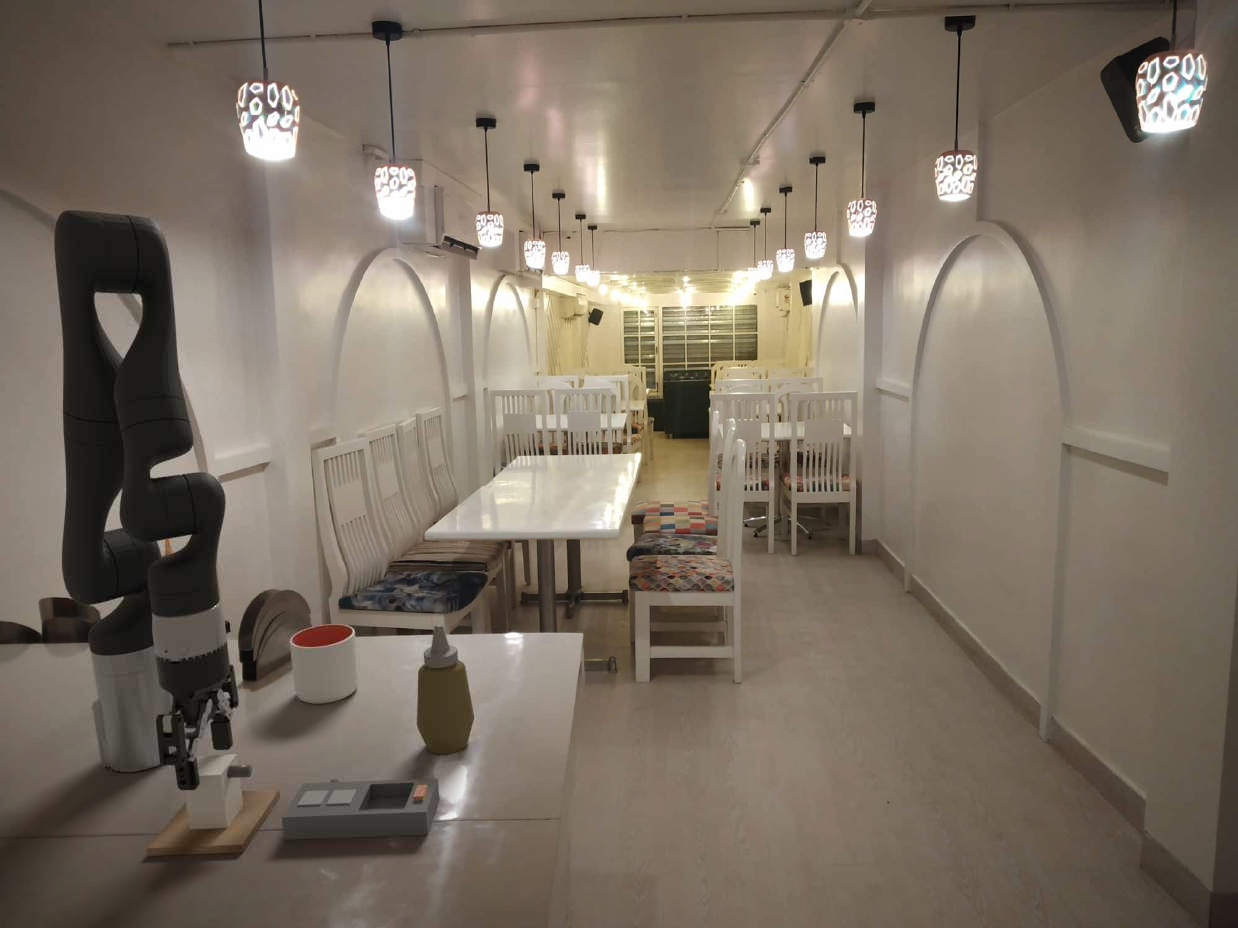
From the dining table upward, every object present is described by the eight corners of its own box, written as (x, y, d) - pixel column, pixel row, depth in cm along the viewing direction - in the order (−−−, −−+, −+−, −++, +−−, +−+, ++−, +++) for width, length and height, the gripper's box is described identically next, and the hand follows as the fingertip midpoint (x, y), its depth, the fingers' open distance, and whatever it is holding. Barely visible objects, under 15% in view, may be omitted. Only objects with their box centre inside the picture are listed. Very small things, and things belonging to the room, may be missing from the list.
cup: (299, 712, 128) (293, 652, 126) (292, 687, 137) (286, 631, 135) (365, 697, 133) (359, 639, 131) (354, 673, 141) (348, 619, 139)
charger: (189, 829, 98) (182, 776, 97) (207, 806, 102) (200, 755, 101) (247, 826, 98) (240, 773, 97) (262, 804, 103) (255, 753, 101)
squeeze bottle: (463, 762, 113) (454, 639, 109) (408, 757, 114) (398, 636, 111) (484, 732, 120) (476, 617, 117) (433, 728, 122) (424, 614, 119)
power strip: (284, 839, 97) (281, 812, 96) (317, 785, 108) (314, 760, 107) (427, 834, 97) (425, 807, 97) (445, 780, 108) (443, 755, 108)
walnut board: (148, 855, 95) (147, 848, 95) (194, 799, 106) (193, 792, 105) (243, 852, 95) (242, 844, 95) (280, 796, 106) (279, 789, 106)
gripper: (189, 619, 103) (204, 737, 106) (123, 670, 89) (142, 804, 92) (249, 618, 103) (262, 736, 106) (192, 668, 89) (209, 802, 92)
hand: (207, 767), depth 99 cm, fingers open, 8 cm apart
